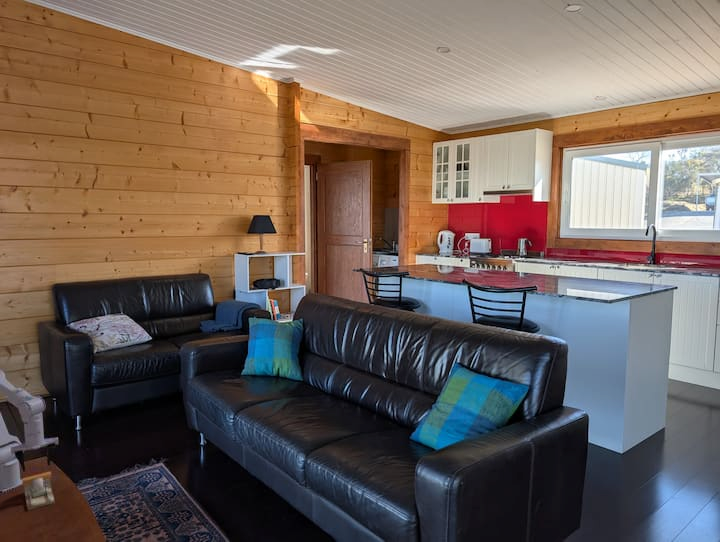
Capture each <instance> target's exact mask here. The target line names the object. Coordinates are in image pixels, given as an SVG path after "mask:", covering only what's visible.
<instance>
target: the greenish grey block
mask: <svg viewBox="0 0 720 542" xmlns="http://www.w3.org/2000/svg"><path fill="white" fill-rule="evenodd" d="M33 487H34V490H32V496H33V497H37V496H40V495H44V494H46V490H45V487H43V478H37V479H34V480H33Z"/></svg>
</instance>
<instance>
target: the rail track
mask: <svg viewBox="0 0 720 542" xmlns="http://www.w3.org/2000/svg"><path fill="white" fill-rule="evenodd" d="M51 482H52V481H51V478H49V479H45V480H43V487H45V490H46V494H44V495H40V496H37V497H33V496H32V490H34V487H33V483H30V484H26V485H23V490H24V497H25V501H26V508H27V511H31V510H34V509H38V508H42V507H45V506H49V505H52V504H55V503H56V502H55V498H54V493H53V491H52V486H51V485H52V484H51Z"/></svg>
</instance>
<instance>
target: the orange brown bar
mask: <svg viewBox="0 0 720 542" xmlns="http://www.w3.org/2000/svg"><path fill="white" fill-rule="evenodd" d="M37 478H43V480H45V479H51V478H52V471H46V472H42V473H39V474H34V475H31V476H30V475H29V476H26V477H24V478H23V477H22V478H21V480H22V483H23V484H22V486H24V485H26V484H30V483H33V480H34V479H37Z"/></svg>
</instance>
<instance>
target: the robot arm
mask: <svg viewBox="0 0 720 542" xmlns="http://www.w3.org/2000/svg"><path fill="white" fill-rule="evenodd" d="M0 393H2V394H3V395H5V396H7V401H8V402H9V403H11V405H13V406H14V407H15V408H17V409H18V412H19V414H20V417H21V420H22V422H23V426H24V427H23V429H24V431H23V432H24V443H22V442H21V441H20V440H19V438H18V437H17V436H15V435H11V434H10V433H9V431H8V428H7V425H6V423H5V421H4V418H3V416H2V412H0V492H1V491H2V492H1V493H5V492H8V491H10V490H12V488H13V489H15V488H17V487H20V486H23V483H22V478H21V472H20V471H21V470H20V466H21V468H22V472H26V466H25V455H24V454H25V451H30V450H37V449H38V450H39V449H40V448H45V447H46V457H47V458H46V463H47V466H51V461H52V458H53V454H54V452H55V451H56V445H59V437H58V436H57V437H50V438H45V434H44V421H43V412H45V410H46V407H47V406H46V401H45V399H43V397H41V396H40V395H38V396H35V395H34V396H33V395H32V394H31V393H29V392H27V390H24V389H23V388H22V387H17V388H16V387H15V386H14V385H13V384H12V383H11V382H10V381H8V379H6V374H5V372H4V371H3V370H2V369H0ZM9 489H10V490H9ZM7 490H8V491H7ZM4 491H5V492H4Z"/></svg>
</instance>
